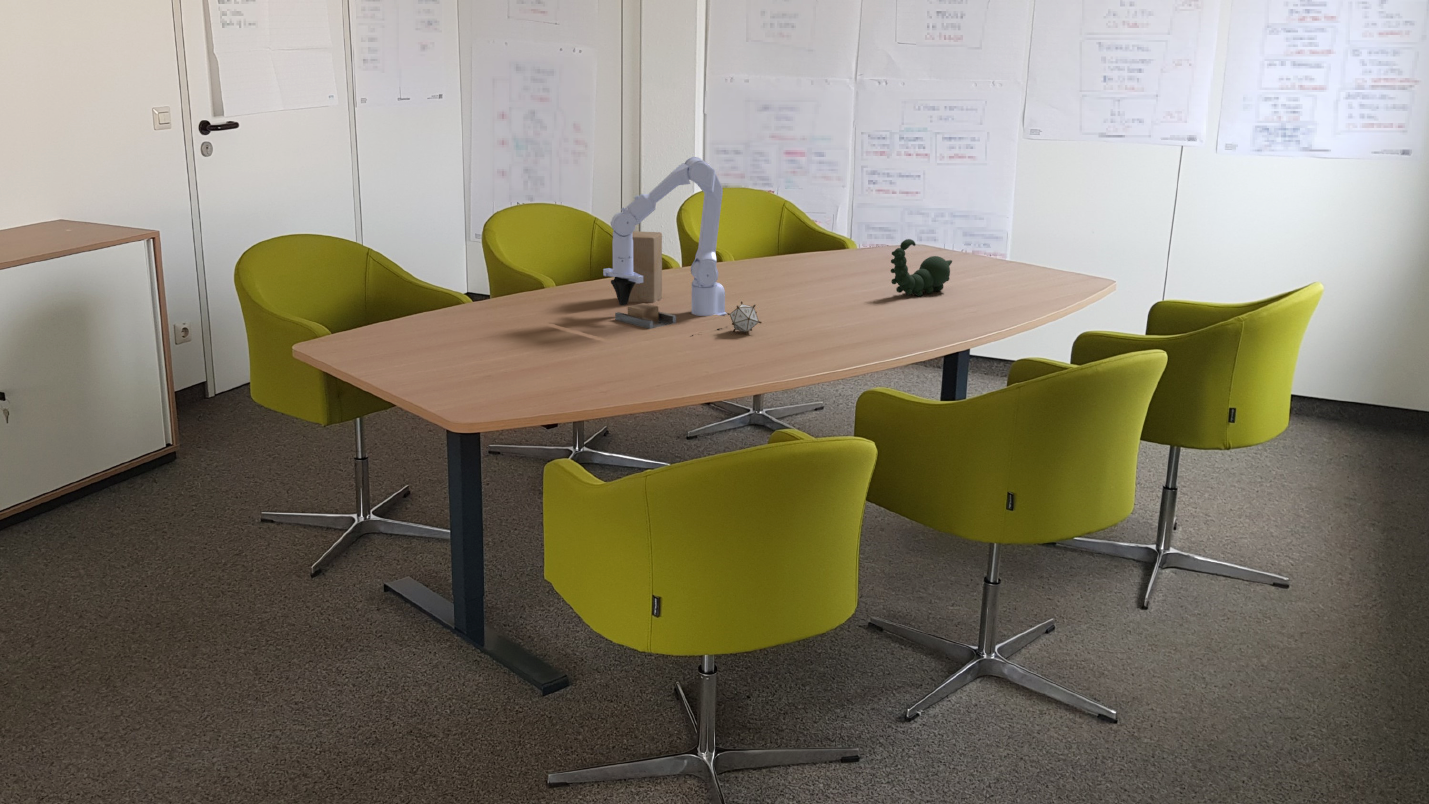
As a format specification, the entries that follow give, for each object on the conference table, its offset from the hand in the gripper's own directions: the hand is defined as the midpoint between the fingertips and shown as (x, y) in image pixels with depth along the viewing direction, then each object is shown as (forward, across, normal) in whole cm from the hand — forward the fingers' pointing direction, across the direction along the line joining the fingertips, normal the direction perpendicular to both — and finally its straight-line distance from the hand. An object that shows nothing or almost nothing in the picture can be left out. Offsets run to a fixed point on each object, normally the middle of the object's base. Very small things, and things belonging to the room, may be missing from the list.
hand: (623, 304), depth 336 cm
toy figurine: (+4, +39, +89) cm, 97 cm away
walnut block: (+3, +8, 0) cm, 9 cm away
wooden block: (+4, -13, +19) cm, 23 cm away
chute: (+4, +13, 0) cm, 14 cm away
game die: (+4, +34, +13) cm, 37 cm away
